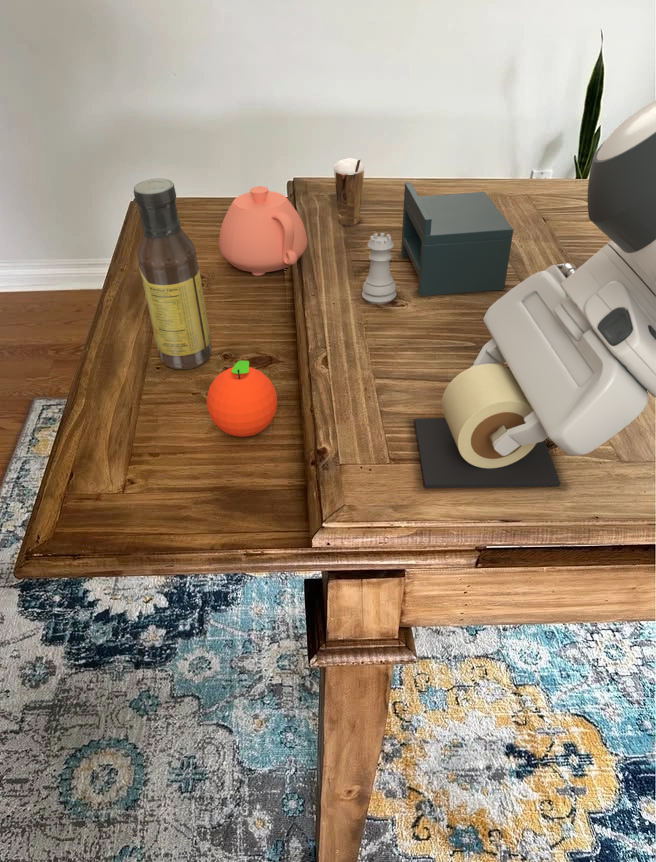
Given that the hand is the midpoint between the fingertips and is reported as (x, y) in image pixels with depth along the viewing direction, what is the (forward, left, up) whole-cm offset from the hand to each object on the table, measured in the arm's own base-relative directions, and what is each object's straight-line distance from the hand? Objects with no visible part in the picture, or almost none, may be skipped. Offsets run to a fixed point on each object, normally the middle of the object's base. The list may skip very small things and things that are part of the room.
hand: (480, 415), depth 67 cm
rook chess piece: (+7, -32, -5) cm, 33 cm away
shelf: (-3, -39, -4) cm, 39 cm away
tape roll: (-1, 0, -4) cm, 4 cm away
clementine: (+22, -5, -5) cm, 23 cm away
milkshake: (+10, -57, -5) cm, 58 cm away
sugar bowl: (+22, -43, -5) cm, 49 cm away
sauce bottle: (+30, -18, -5) cm, 36 cm away
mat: (-1, 0, -4) cm, 4 cm away
